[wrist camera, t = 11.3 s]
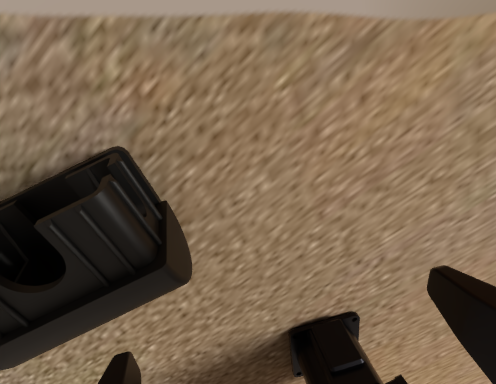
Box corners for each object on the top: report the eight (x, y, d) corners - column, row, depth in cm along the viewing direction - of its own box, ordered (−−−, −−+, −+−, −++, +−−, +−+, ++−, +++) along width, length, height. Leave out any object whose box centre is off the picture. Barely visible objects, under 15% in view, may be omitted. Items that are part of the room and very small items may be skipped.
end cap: (55, 294, 22) (14, 396, 16) (-31, 216, 18) (-126, 310, 12) (189, 229, 22) (198, 307, 16) (130, 138, 18) (112, 194, 12)
